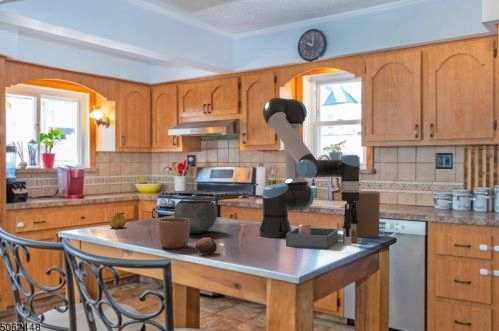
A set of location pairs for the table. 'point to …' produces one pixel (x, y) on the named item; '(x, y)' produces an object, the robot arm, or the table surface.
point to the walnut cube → (352, 236)
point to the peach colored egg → (305, 229)
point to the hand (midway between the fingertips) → (350, 241)
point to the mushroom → (206, 246)
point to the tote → (312, 238)
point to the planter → (174, 232)
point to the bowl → (197, 214)
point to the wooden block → (368, 215)
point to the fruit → (117, 220)
